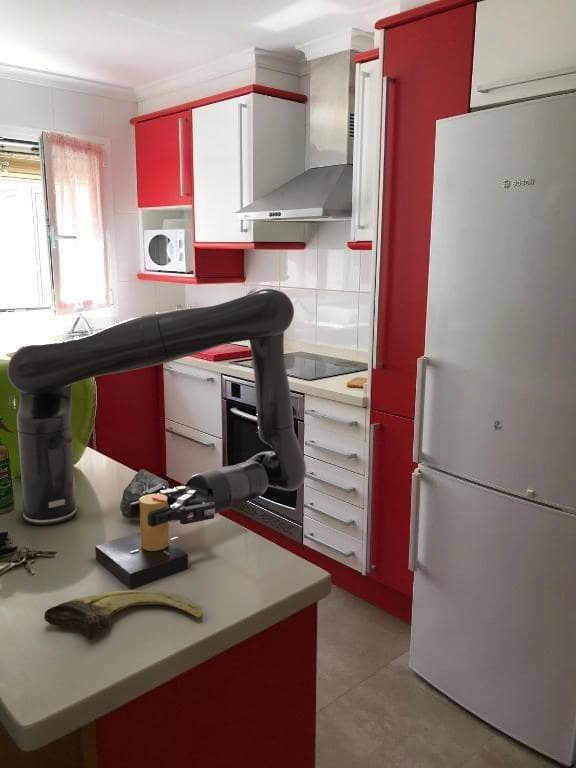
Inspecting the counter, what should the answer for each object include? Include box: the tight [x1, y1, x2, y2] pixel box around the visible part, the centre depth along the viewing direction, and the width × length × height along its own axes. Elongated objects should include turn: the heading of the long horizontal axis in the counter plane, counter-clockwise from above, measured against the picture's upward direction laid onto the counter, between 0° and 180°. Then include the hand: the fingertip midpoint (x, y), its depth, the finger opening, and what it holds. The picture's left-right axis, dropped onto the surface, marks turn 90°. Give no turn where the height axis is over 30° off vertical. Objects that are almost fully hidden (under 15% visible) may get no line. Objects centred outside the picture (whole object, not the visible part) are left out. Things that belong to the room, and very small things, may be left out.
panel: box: [94, 531, 189, 590], centre depth 102 cm, size 12×12×3 cm
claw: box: [43, 589, 204, 640], centre depth 87 cm, size 20×10×3 cm, turn 113°
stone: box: [119, 468, 170, 521], centre depth 119 cm, size 10×10×10 cm
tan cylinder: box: [139, 494, 170, 551], centre depth 102 cm, size 4×4×8 cm
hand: (139, 515), depth 99 cm, fingers closed on tan cylinder, 4 cm apart
